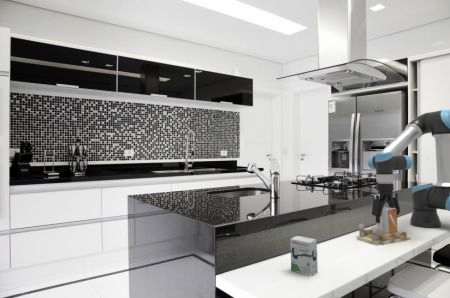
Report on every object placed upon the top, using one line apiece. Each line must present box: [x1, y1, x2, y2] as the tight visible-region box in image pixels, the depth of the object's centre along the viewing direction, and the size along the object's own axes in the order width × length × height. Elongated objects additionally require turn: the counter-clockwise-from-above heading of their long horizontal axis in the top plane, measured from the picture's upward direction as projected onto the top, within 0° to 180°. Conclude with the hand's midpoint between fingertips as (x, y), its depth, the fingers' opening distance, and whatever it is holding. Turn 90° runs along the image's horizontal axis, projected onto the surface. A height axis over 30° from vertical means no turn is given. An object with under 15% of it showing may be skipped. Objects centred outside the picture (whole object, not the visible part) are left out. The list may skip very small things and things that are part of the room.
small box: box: [375, 206, 398, 235], centre depth 153 cm, size 8×6×13 cm
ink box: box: [289, 235, 319, 276], centre depth 113 cm, size 9×5×12 cm, turn 45°
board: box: [356, 223, 412, 246], centre depth 152 cm, size 22×12×8 cm, turn 111°
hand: (387, 228), depth 153 cm, fingers closed on small box, 9 cm apart
